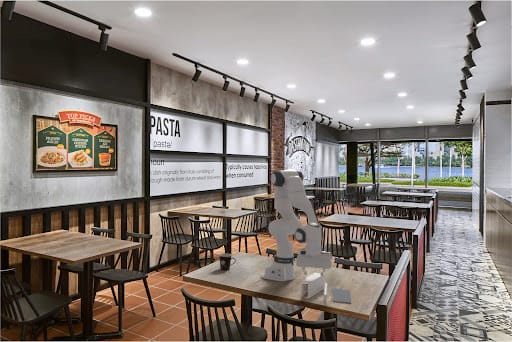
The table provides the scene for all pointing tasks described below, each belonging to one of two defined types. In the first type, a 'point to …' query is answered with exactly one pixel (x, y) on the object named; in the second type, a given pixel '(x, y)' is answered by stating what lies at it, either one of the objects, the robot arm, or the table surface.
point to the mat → (341, 296)
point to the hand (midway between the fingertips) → (313, 275)
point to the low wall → (325, 292)
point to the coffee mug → (225, 261)
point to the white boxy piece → (312, 285)
